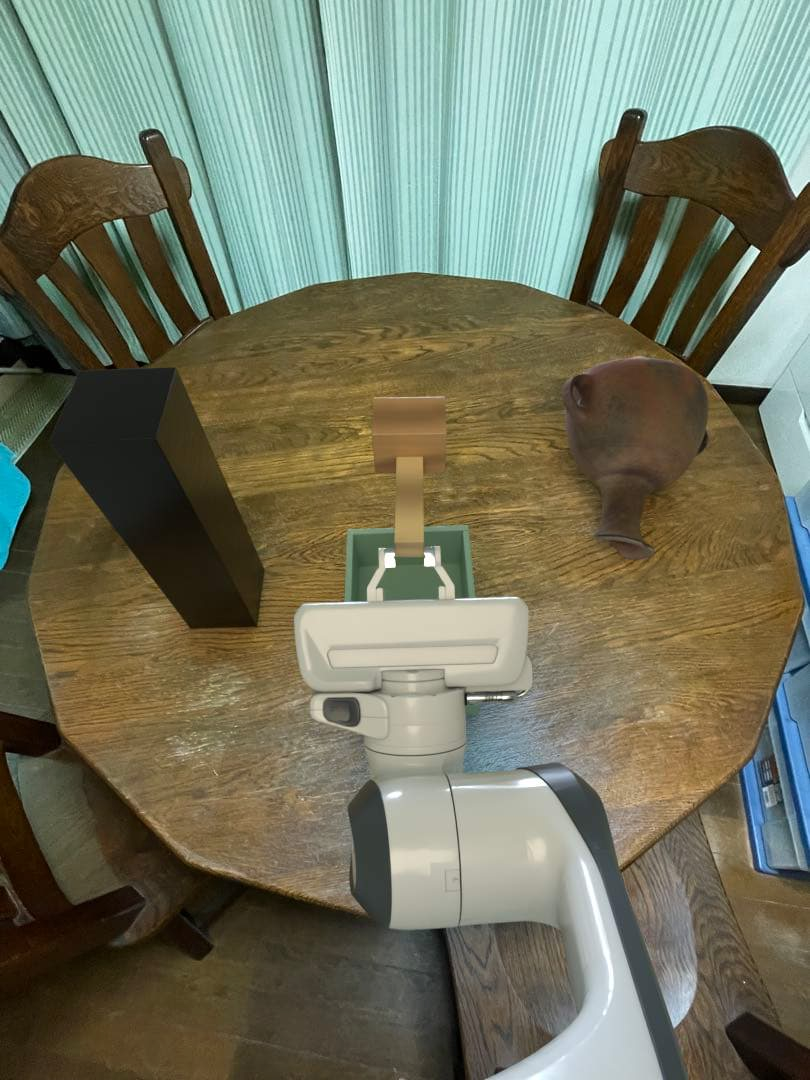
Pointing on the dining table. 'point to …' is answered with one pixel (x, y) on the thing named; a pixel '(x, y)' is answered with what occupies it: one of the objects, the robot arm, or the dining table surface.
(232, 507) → the stand
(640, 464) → the jug
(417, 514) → the mallet
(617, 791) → the dining table surface
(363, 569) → the tray
